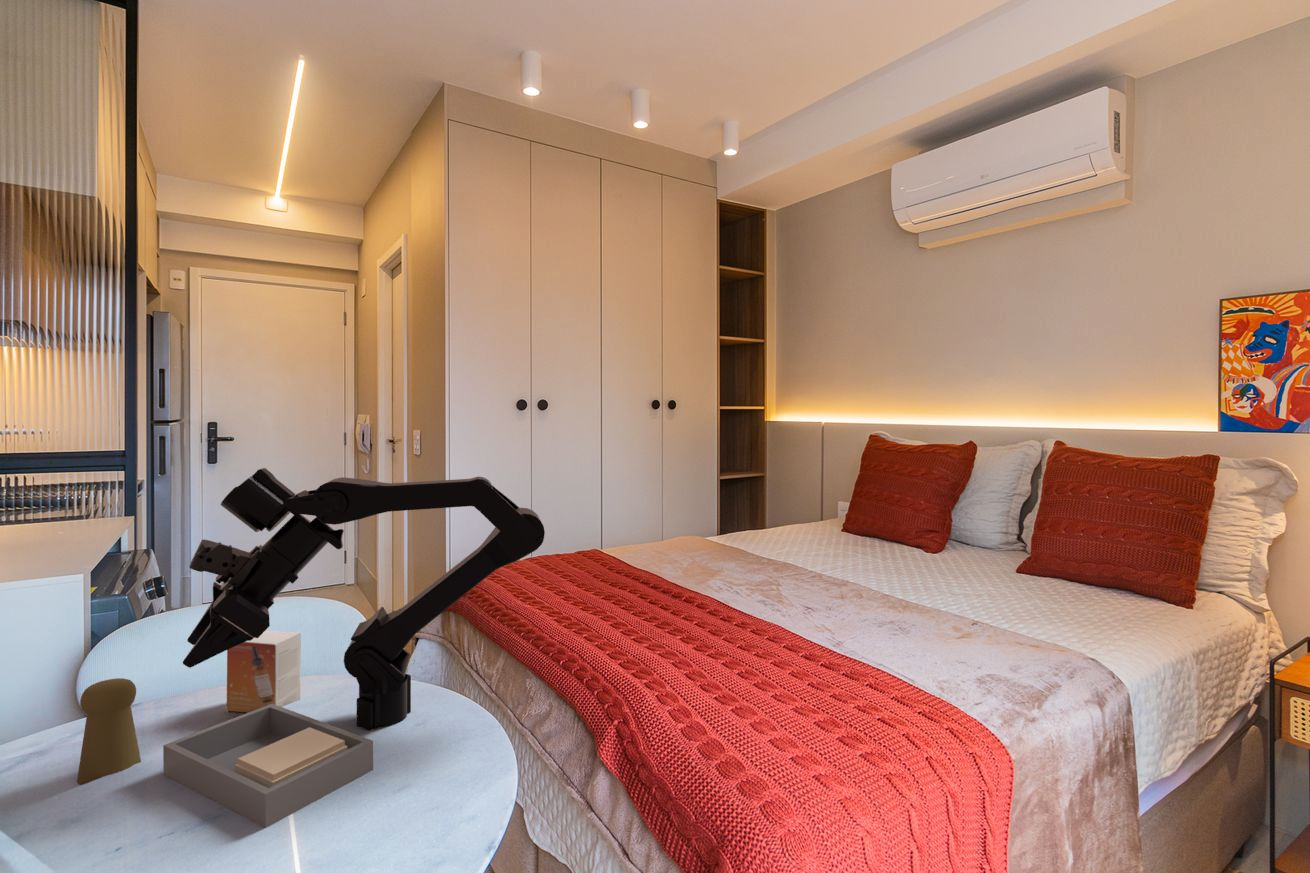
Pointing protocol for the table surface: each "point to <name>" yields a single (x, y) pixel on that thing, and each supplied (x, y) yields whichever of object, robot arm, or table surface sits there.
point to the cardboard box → (289, 757)
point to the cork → (108, 730)
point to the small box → (264, 671)
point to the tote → (217, 749)
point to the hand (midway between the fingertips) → (188, 653)
